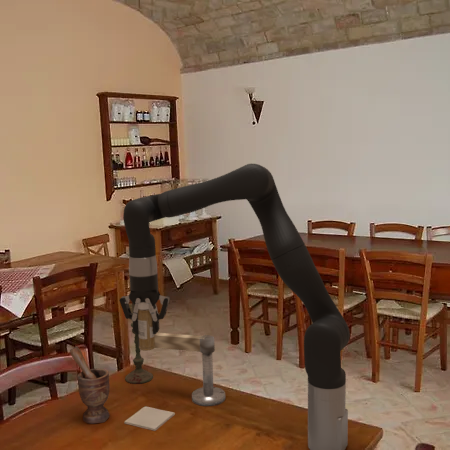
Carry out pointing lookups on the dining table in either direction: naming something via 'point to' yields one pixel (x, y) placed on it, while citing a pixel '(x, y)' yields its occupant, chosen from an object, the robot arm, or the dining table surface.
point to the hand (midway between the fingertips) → (146, 333)
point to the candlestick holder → (138, 365)
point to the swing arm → (184, 342)
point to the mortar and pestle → (92, 389)
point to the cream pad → (149, 418)
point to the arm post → (208, 386)
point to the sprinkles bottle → (145, 327)
